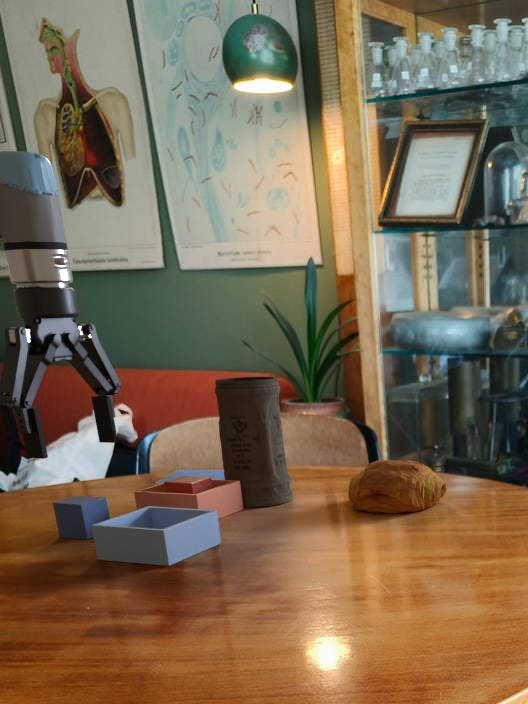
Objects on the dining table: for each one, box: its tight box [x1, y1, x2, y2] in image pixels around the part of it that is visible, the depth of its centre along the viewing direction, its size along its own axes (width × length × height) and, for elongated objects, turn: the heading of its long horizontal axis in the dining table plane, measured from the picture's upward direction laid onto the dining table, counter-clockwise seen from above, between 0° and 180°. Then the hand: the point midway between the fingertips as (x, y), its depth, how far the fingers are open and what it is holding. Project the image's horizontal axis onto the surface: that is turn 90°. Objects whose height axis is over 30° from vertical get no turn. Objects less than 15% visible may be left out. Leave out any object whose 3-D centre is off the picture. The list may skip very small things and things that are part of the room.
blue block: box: [52, 495, 111, 540], centre depth 127 cm, size 5×5×5 cm
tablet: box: [154, 469, 225, 485], centre depth 162 cm, size 19×13×1 cm, turn 88°
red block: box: [164, 476, 213, 494], centre depth 136 cm, size 5×5×5 cm
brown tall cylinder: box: [214, 376, 294, 509], centre depth 145 cm, size 15×11×20 cm
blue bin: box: [91, 506, 222, 567], centre depth 117 cm, size 11×11×5 cm
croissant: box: [347, 459, 447, 514], centre depth 139 cm, size 14×16×8 cm
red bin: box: [133, 479, 244, 520], centre depth 136 cm, size 11×11×5 cm
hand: (75, 450), depth 123 cm, fingers open, 13 cm apart
